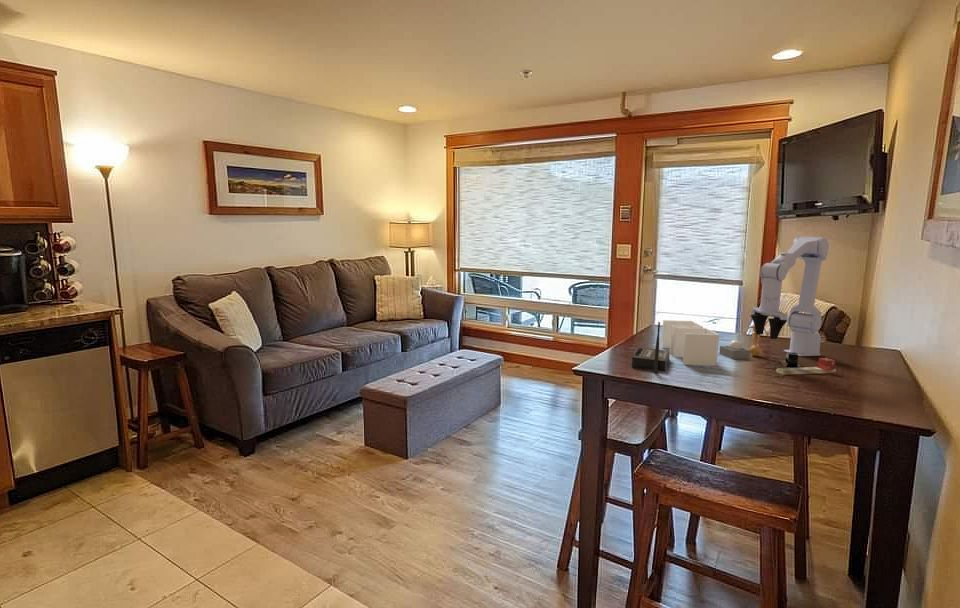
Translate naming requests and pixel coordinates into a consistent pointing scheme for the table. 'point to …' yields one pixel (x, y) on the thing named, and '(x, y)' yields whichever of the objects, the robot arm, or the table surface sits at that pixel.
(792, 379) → the table surface
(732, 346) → the white glossy sphere
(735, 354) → the housing
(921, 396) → the table surface
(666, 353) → the wireless controller
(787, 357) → the black piece
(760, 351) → the figurine
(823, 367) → the space track
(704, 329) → the white brackets
